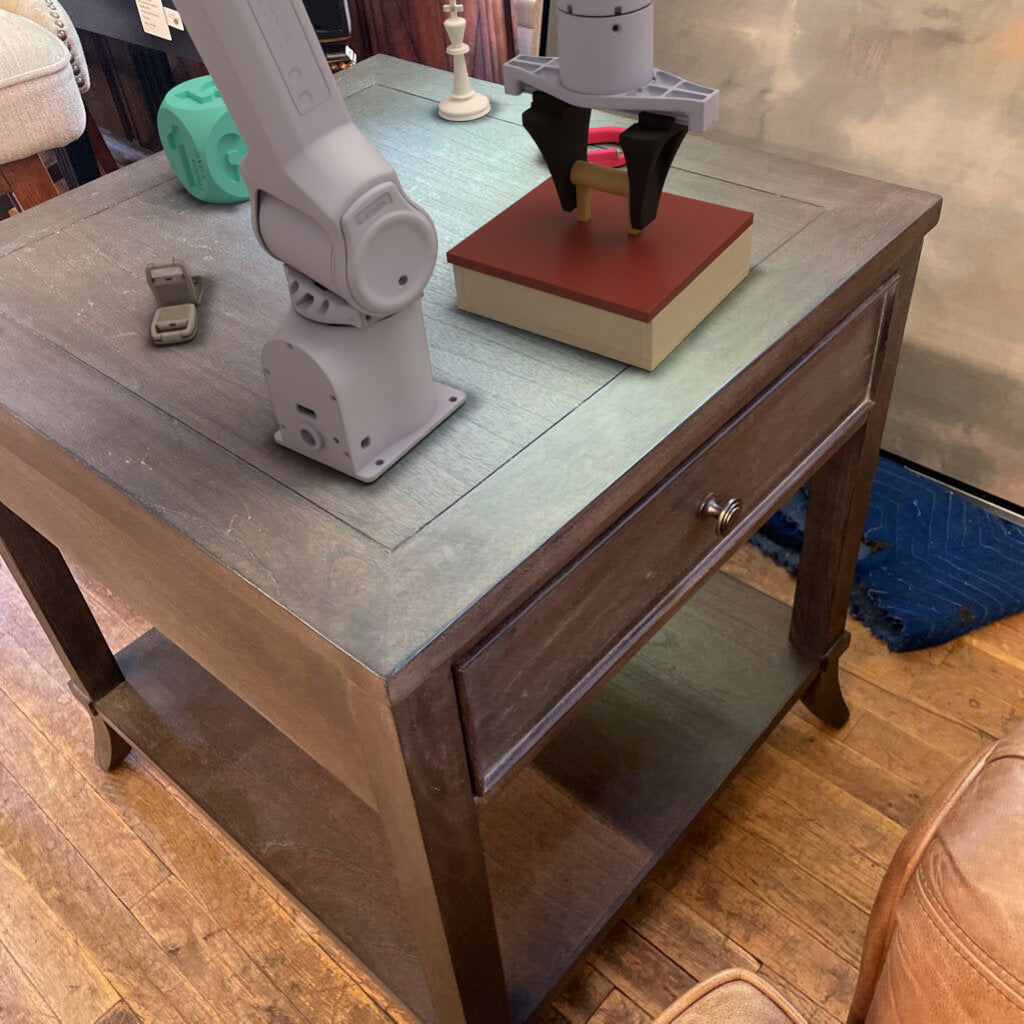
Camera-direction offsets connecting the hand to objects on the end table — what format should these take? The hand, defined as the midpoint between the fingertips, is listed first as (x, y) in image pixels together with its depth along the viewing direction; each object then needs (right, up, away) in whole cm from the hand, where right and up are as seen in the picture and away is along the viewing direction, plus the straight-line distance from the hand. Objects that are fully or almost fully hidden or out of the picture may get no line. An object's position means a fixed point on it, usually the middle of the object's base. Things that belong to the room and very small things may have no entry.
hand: (609, 214), depth 72 cm
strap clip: (-31, -6, +6) cm, 32 cm away
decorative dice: (-30, +8, +21) cm, 38 cm away
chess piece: (-11, +18, +29) cm, 35 cm away
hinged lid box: (0, -5, +3) cm, 6 cm away
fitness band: (0, +10, +20) cm, 22 cm away
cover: (0, -2, +1) cm, 2 cm away
